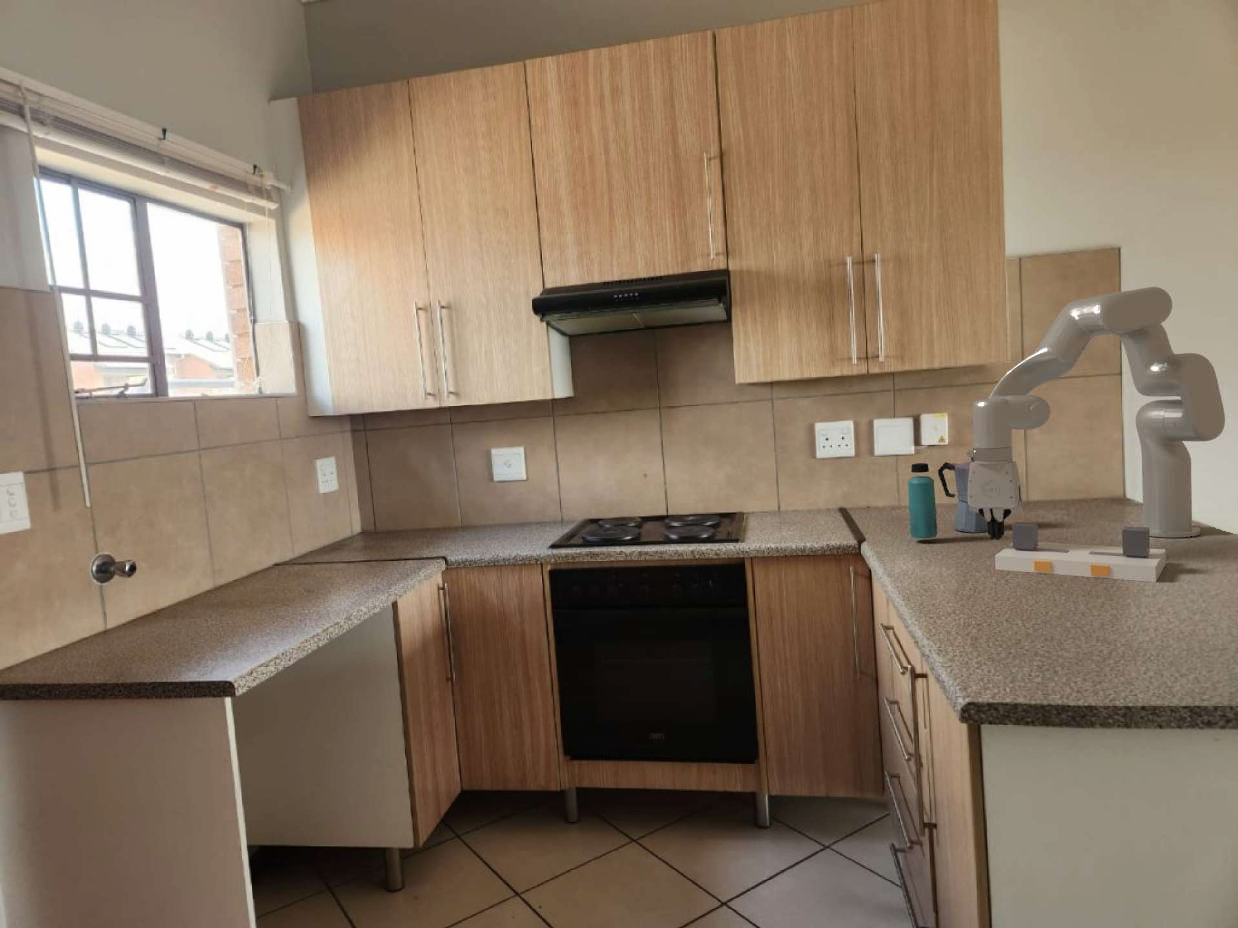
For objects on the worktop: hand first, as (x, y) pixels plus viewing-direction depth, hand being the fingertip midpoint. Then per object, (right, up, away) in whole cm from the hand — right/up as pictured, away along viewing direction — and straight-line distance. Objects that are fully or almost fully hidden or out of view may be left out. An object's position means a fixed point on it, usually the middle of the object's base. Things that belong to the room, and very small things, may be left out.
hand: (996, 538), depth 171 cm
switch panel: (+12, -5, -10) cm, 17 cm away
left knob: (+4, -2, -4) cm, 6 cm away
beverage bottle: (-6, -4, +26) cm, 27 cm away
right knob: (+20, -1, -17) cm, 26 cm away
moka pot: (+10, -1, +35) cm, 37 cm away
